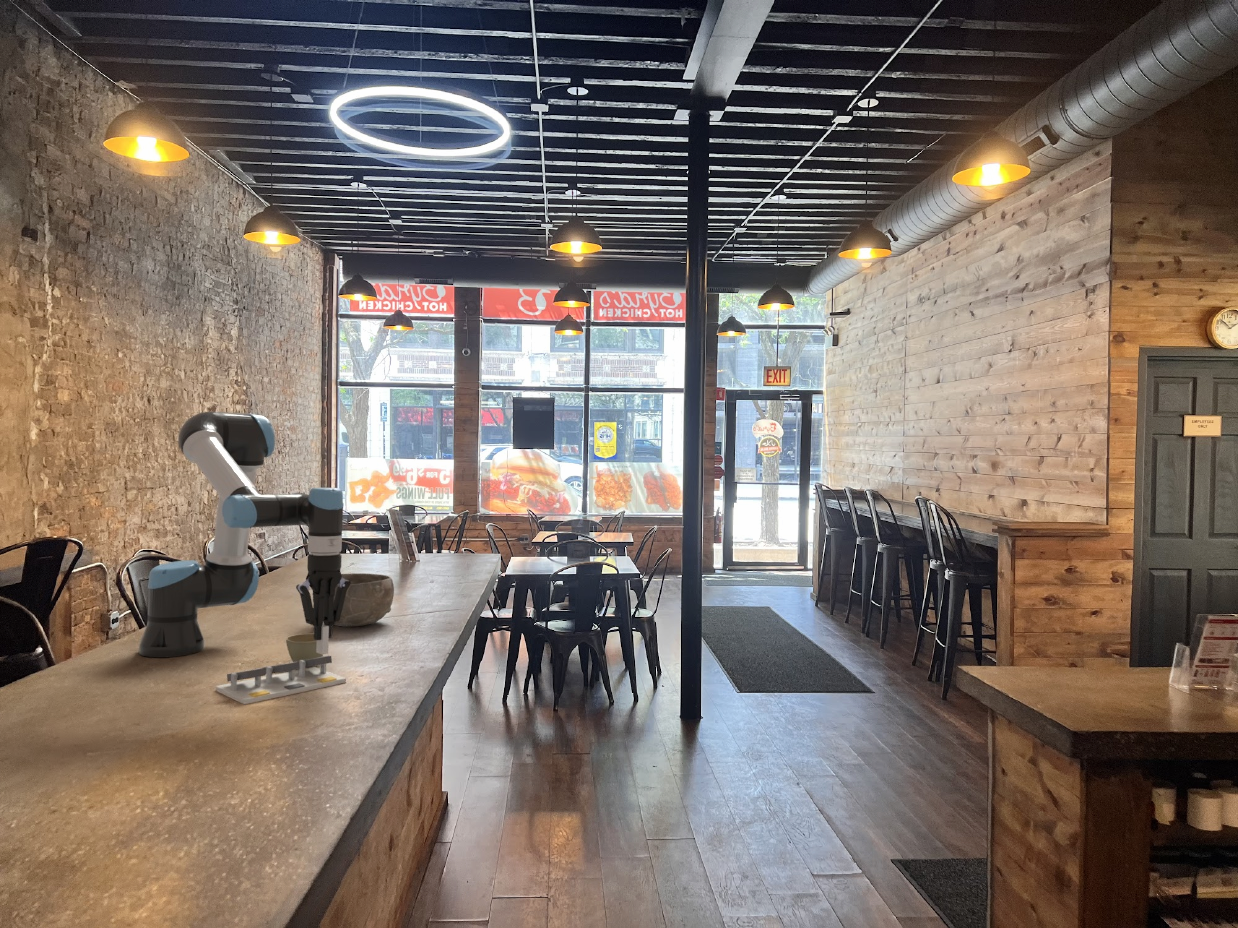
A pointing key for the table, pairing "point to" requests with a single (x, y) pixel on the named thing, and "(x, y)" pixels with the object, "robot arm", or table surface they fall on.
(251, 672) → the rocker
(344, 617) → the bowl
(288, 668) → the rocker
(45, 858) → the table surface
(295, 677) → the switch unit
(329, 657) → the rocker
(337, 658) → the table surface
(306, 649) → the flower pot
